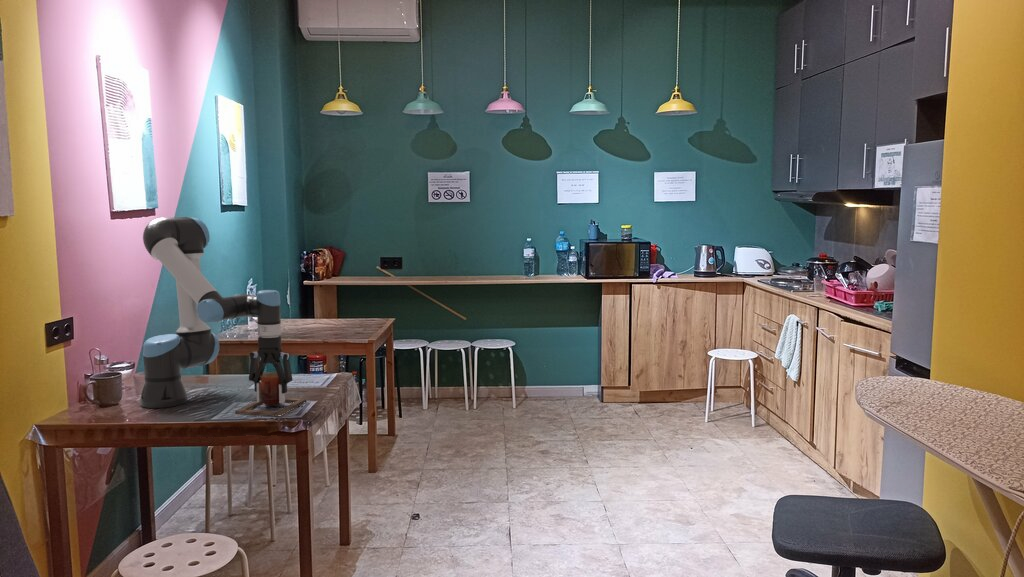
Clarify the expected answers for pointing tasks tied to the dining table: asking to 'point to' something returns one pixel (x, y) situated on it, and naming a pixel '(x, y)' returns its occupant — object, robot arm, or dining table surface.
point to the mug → (270, 388)
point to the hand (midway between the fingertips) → (271, 401)
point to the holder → (257, 412)
